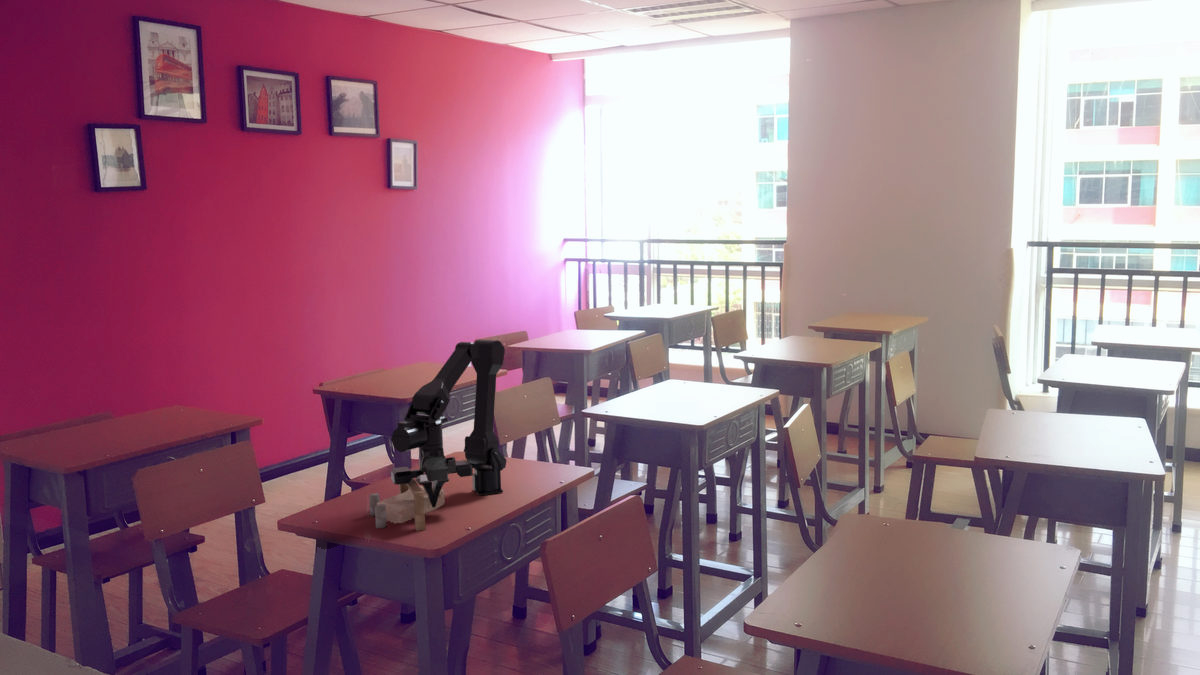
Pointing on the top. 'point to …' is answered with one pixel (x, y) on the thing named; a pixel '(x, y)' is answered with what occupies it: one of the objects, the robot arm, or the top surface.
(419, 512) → the shelf frame
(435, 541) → the top surface
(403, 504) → the brick
